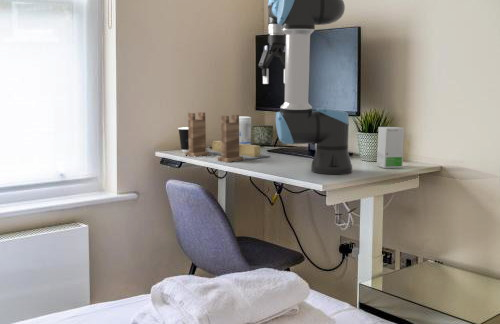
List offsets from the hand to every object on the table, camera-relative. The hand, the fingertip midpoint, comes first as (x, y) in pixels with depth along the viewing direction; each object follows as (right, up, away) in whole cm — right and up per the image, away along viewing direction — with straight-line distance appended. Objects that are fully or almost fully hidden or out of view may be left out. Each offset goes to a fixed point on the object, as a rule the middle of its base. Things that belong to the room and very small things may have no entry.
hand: (276, 83), depth 245 cm
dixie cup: (-42, -30, +16) cm, 54 cm away
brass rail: (-18, -31, +4) cm, 36 cm away
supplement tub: (-16, -27, +35) cm, 47 cm away
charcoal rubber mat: (-18, -32, +4) cm, 37 cm away
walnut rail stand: (-28, -33, -5) cm, 43 cm away
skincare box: (+43, -37, -30) cm, 64 cm away
